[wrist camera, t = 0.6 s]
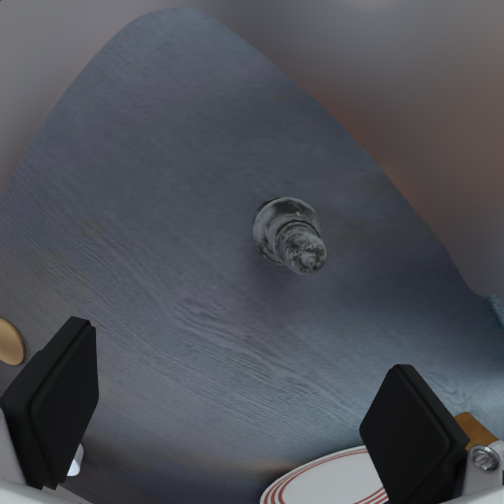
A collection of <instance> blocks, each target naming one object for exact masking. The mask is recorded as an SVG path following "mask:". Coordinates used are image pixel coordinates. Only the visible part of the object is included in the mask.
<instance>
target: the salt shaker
mask: <svg viewBox="0 0 504 504" xmlns="http://www.w3.org/2000/svg"><path fill="white" fill-rule="evenodd" d="M320 237H321V224H320V220H319V217H318V215H317V214H316V212H315V210H314V209H313V208H312V207H311V206H310V205H309V204H307V203H305V202H304V201H302V200H300V199H296V198H288V197H275V198H271V199H269V200H267V201H266V202H264V203H263V204H262V205H261V206H260V207H259V208H258V210H257V212H256V214H255V216H254V221H253V240H254V243H255V246H256V248H257V250H258V251H259V253H260V254H261V255H262V256H263V257H264V258H265V259H266V260H268V261H270V262H272V263H274V264H277V265H282V266H288V267H289V269H291V270H292V271H293V272H295V273H297V274H299V275H304V276H306V275H312V274H315V273H316V272H318V271H319V270H320V269H321V268H322V267H323V265H324V263H325V261H326V253H327V252H326V248H325V245H324V243H323V241H322V240H321V239H320Z"/></svg>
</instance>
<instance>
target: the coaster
mask: <svg viewBox="0 0 504 504" xmlns="http://www.w3.org/2000/svg"><path fill="white" fill-rule="evenodd" d="M24 356H25V347H24V343H23V341H22V339H21V337H20V335H19V333H18V332H17V330H16V329H15V328H14V327H13V326H12V325H11V324H10V323H9V322H7V321H6V320H4V319H2V318H0V359H1V360H2V361H4V362H5V363H7V364H10V365H17V364H19V363H21V362H22V360H23V359H24Z"/></svg>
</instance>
